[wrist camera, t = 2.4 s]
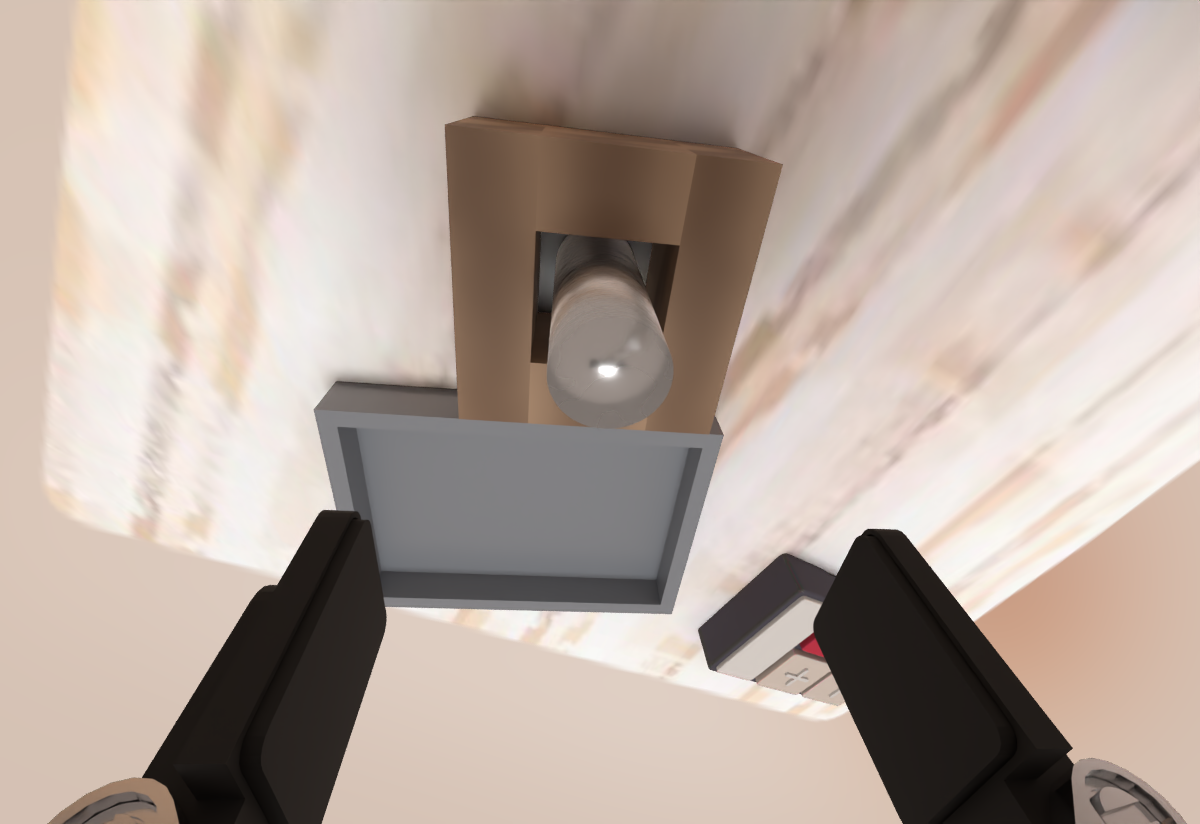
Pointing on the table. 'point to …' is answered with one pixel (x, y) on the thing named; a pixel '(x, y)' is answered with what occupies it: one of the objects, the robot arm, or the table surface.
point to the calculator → (774, 632)
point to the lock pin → (604, 336)
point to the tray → (514, 503)
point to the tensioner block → (607, 210)
